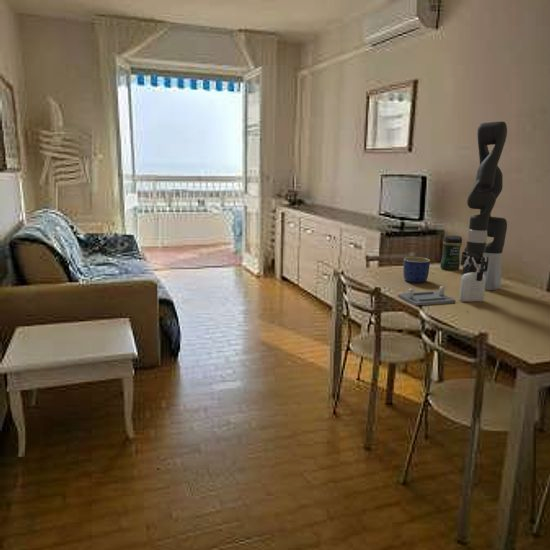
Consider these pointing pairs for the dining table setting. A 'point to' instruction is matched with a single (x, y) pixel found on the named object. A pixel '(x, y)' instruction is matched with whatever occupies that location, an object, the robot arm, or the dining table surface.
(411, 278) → the planter
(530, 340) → the dining table surface
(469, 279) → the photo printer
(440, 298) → the docking tray
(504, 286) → the dining table surface
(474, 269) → the bottle
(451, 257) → the coffee jar
